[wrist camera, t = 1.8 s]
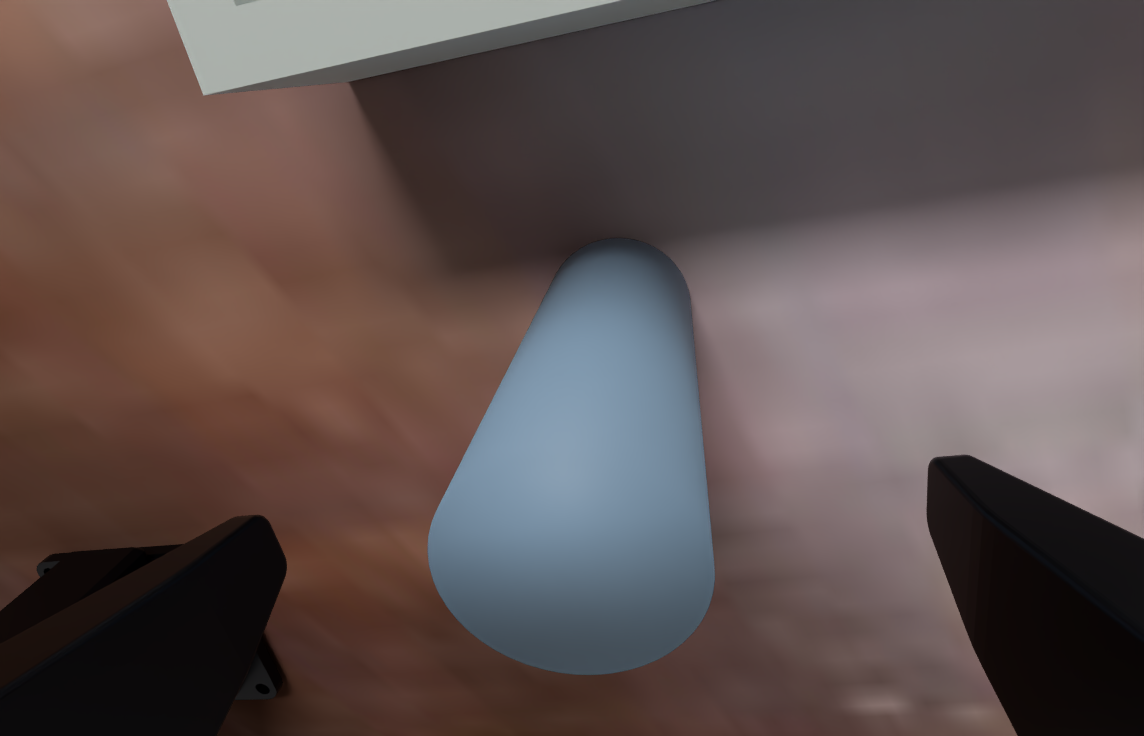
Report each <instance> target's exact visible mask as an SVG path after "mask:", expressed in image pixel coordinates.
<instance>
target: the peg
mask: <svg viewBox="0 0 1144 736" xmlns="http://www.w3.org/2000/svg"><path fill="white" fill-rule="evenodd" d="M428 559H429V567H430V570H431V574H432V578H433V581H434V583H435V586H436V588H437V590H438V592H439V594H440V596H441V598H442V599H443V601H444V603H445V604H446V606H447V607H448V609H449V610H450V611H451V613H452V614H453V615H454V616H455V618H456V619H457V620H458V621H459V622H460V623H461V624H462V625H463V626H464V627H465V628H466V629H467V630H468V631H469V632H471V633H472V634H473V635H474V636H475V637H477V638H478V639H479V640H480V641H482V642H483V643H485V644H486V645H488V646H490V647H491V648H493V649H494V650H496V651H498V652H500V653H502V654H504V655H506V656H507V657H509V658H512V659H514V660H517V661H519V662H522V663H524V664H527V665H530V666H533V667H537V668H540V669H544V670H549V671H553V672H558V673H566V674H575V675H599V674H611V673H616V672H622V671H627V670H631V669H634V668H638V667H641V666H644V665H646V664H649V663H651V662H653V661H656V660H658V659H660V658H661V657H663V656H665V655H667V654H669V653H670V652H672V651H673V650H674V649H676V648H677V647H678V646H680V645H681V644H682V643H683V642H684V641H685V640H686V639H687V638H688V637H689V636H690V635H691V634H692V633H693V632H694V631H695V630H696V628H697V627H698V625H699V624H700V623H701V621H702V620H703V618H704V616H705V614H706V612H707V610H708V608H709V605H710V602H711V598H712V595H713V589H714V582H715V571H714V556H713V545H712V534H711V523H710V512H709V501H708V490H707V479H706V468H705V457H704V446H703V435H702V424H701V413H700V401H699V390H698V379H697V368H696V357H695V346H694V335H693V324H692V313H691V302H690V295H689V290H688V287H687V284H686V281H685V279H684V277H683V275H682V273H681V272H680V270H679V269H678V267H677V266H676V265H675V264H674V263H673V261H672V260H671V259H670V258H669V257H667V256H666V255H665V254H664V253H663V252H661V251H660V250H658V249H656V248H655V247H653V246H651V245H648V244H646V243H644V242H640V241H637V240H632V239H626V238H612V239H604V240H600V241H596V242H593V243H591V244H588V245H586V246H584V247H582V248H580V249H579V250H578V251H576V252H575V253H573V254H572V255H571V256H570V257H569V258H568V259H567V260H566V261H565V262H564V263H563V264H562V266H561V267H560V268H559V270H558V272H557V273H556V275H555V277H554V279H553V281H552V283H551V285H550V287H549V289H548V291H547V293H546V295H545V297H544V299H543V301H542V303H541V305H540V307H539V309H538V311H537V313H536V315H535V316H534V318H533V320H532V322H531V324H530V326H529V328H528V330H527V332H526V334H525V336H524V338H523V340H522V342H521V344H520V346H519V348H518V350H517V352H516V354H515V356H514V358H513V360H512V362H511V364H510V366H509V368H508V370H507V372H506V374H505V376H504V378H503V380H502V382H501V384H500V386H499V388H498V390H497V392H496V394H495V396H494V398H493V400H492V402H491V404H490V406H489V408H488V410H487V412H486V414H485V416H484V418H483V420H482V421H481V423H480V425H479V427H478V429H477V431H476V433H475V435H474V437H473V439H472V441H471V443H470V445H469V447H468V449H467V451H466V453H465V455H464V457H463V459H462V461H461V463H460V465H459V467H458V469H457V471H456V473H455V475H454V477H453V479H452V481H451V483H450V485H449V487H448V489H447V491H446V493H445V495H444V497H443V499H442V501H441V503H440V505H439V507H438V509H437V511H436V513H435V516H434V518H433V521H432V523H431V528H430V532H429V537H428Z"/></svg>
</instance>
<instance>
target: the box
mask: <svg viewBox="0 0 1144 736" xmlns="http://www.w3.org/2000/svg"><path fill="white" fill-rule="evenodd" d="M711 1H716V0H167V2H168V4H169V7H170V10H171V12H172V15H173V17H174V20H175V23H176V25H177V28H178V30H179V33H180V35H181V38H182V41H183V43H184V46H185V48H186V51H187V54H188V56H189V59H190V61H191V64H192V67H193V69H194V72H195V74H196V77H197V80H198V82H199V85H200V87H201V90H202V92H203V95H213V94H224V93H235V92H246V91H257V90H267V89H278V88H289V87H300V86H311V85H321V84H332V83H343V82H350V81H355V80H359V79H364V78H368V77H373V76H377V75H382V74H386V73H391V72H395V71H400V70H404V69H409V68H413V67H418V66H422V65H427V64H431V63H436V62H440V61H445V60H449V59H454V58H459V57H463V56H468V55H472V54H477V53H481V52H486V51H490V50H495V49H499V48H504V47H508V46H513V45H517V44H522V43H526V42H531V41H535V40H540V39H544V38H549V37H553V36H558V35H562V34H567V33H571V32H576V31H580V30H585V29H590V28H594V27H599V26H603V25H608V24H612V23H617V22H621V21H626V20H630V19H635V18H639V17H644V16H648V15H653V14H657V13H662V12H666V11H671V10H675V9H680V8H684V7H689V6H693V5H698V4H702V3H707V2H711Z"/></svg>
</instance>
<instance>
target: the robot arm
mask: <svg viewBox="0 0 1144 736" xmlns="http://www.w3.org/2000/svg"><path fill="white" fill-rule="evenodd" d="M927 522H928V528H929V531H930V535H931V537H932V540H933V543H934V545H935V548H936V551H937V553H938V556H939V559H940V561H941V564H942V567H943V570H944V572H945V575H946V578H947V580H948V583H949V586H950V588H951V591H952V594H953V596H954V599H955V602H956V604H957V607H958V610H959V612H960V615H961V618H962V620H963V623H964V626H965V628H966V631H967V633H968V636H969V639H970V641H971V644H972V646H973V648H974V650H975V653H976V655H977V657H978V659H979V661H980V663H981V665H982V667H983V669H984V671H985V673H986V675H987V677H988V679H989V681H990V683H991V685H992V687H993V689H994V691H995V693H996V695H997V696H998V698H999V700H1000V702H1001V704H1002V706H1003V708H1004V710H1005V712H1006V714H1007V716H1008V718H1009V720H1010V722H1011V724H1012V726H1013V728H1014V730H1015V732H1016V733H1017V735H1018V736H1144V539H1143V538H1141V537H1139V536H1137V535H1135V534H1133V533H1131V532H1129V531H1127V530H1125V529H1122V528H1120V527H1118V526H1116V525H1114V524H1112V523H1110V522H1108V521H1106V520H1104V519H1102V518H1100V517H1097V516H1095V515H1093V514H1091V513H1089V512H1087V511H1085V510H1083V509H1081V508H1079V507H1077V506H1075V505H1072V504H1070V503H1068V502H1066V501H1064V500H1062V499H1060V498H1058V497H1056V496H1054V495H1052V494H1050V493H1047V492H1045V491H1043V490H1041V489H1039V488H1037V487H1035V486H1033V485H1031V484H1029V483H1027V482H1025V481H1023V480H1020V479H1018V478H1016V477H1014V476H1012V475H1010V474H1008V473H1006V472H1004V471H1002V470H1000V469H998V468H995V467H993V466H991V465H989V464H987V463H985V462H983V461H981V460H979V459H977V458H975V457H972V456H970V455H955V456H943V457H935V458H933V459H932V460H931V461H930V463H929V467H928V484H927ZM286 571H287V562H286V558H285V555H284V553H283V551H282V548H281V546H280V544H279V542H278V540H277V537H276V535H275V533H274V531H273V529H272V527H271V524H270V523H269V521H268V520H267V519H266V518H265V517H264V516H261V515H248V516H237V517H234V518H231V519H230V520H228V521H226V522H224V523H222V524H220V525H218V526H217V527H215V528H213V529H211V530H209V531H207V532H206V533H204V534H202V535H200V536H198V537H196V538H195V539H193V540H191V541H189V542H187V543H185V544H179V545H166V546H153V547H139V548H134V547H131V548H118V549H104V550H91V551H78V552H71V553H59V554H52V555H49V556H48V557H47V558H45V559H44V560H43V561H42V562H41V563H39V564H38V566H37V572H38V574H39V576H40V578H39V579H38V580H37V581H36V582H34V583H33V584H32V585H31V586H30V587H29V588H27V589H26V590H25V591H24V592H23V593H21V594H20V595H19V596H18V597H17V598H15V599H14V600H13V601H12V602H11V603H9V604H8V605H7V606H6V607H5V608H3V609H2V610H1V611H0V736H217V734H218V732H219V730H220V728H221V726H222V724H223V722H224V720H225V718H226V716H227V714H228V712H229V710H230V708H231V706H232V704H233V702H234V700H252V699H271V698H274V697H275V696H276V694H277V693H278V691H279V689H280V688H281V686H282V683H283V682H282V679H281V677H280V675H279V673H278V671H277V669H276V667H275V665H274V663H273V661H272V659H271V657H270V655H269V653H268V651H267V649H266V647H265V645H264V643H263V641H262V639H261V638H262V635H263V633H264V630H265V627H266V625H267V622H268V620H269V617H270V615H271V612H272V609H273V607H274V604H275V602H276V599H277V597H278V594H279V592H280V589H281V586H282V584H283V581H284V579H285V576H286Z"/></svg>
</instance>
